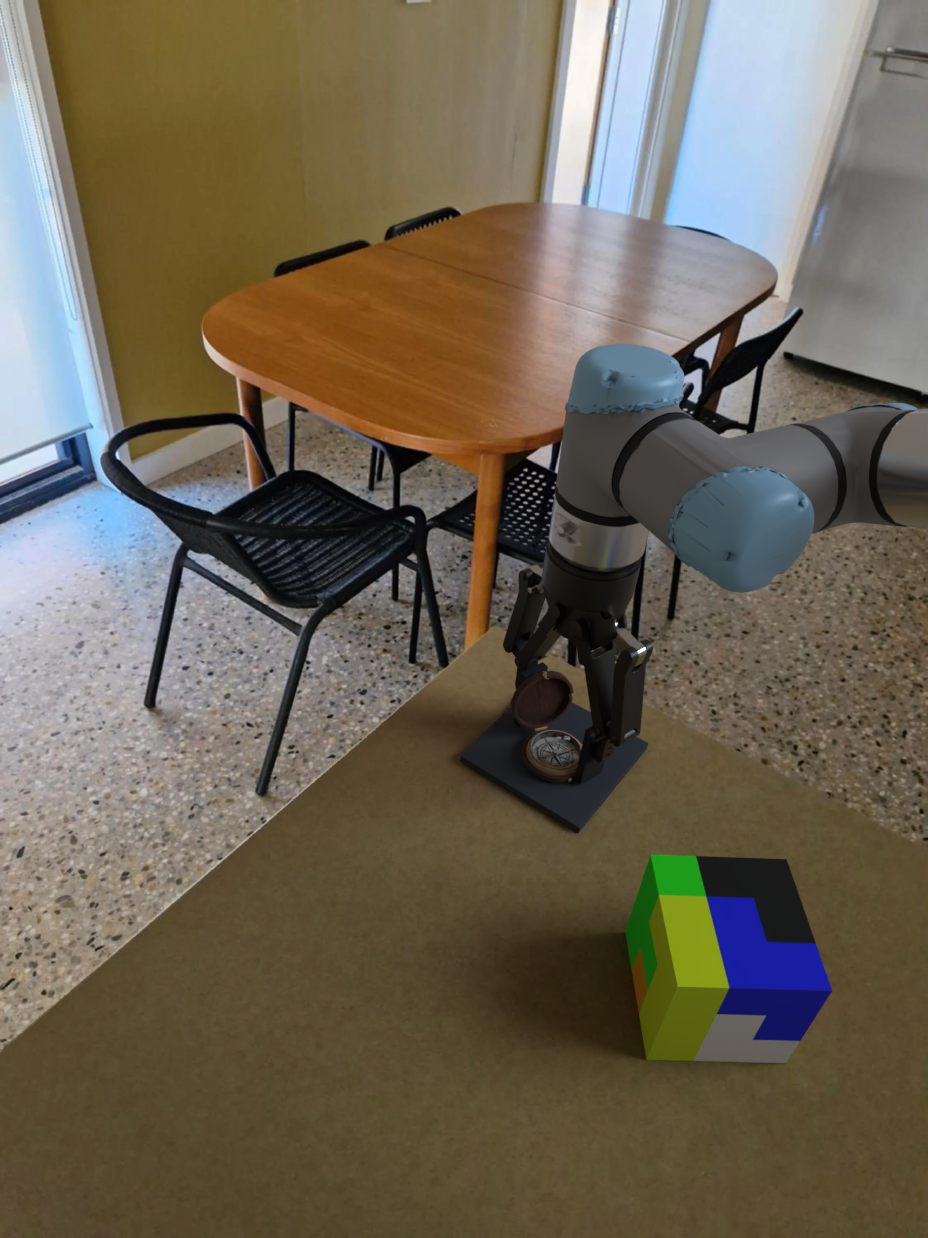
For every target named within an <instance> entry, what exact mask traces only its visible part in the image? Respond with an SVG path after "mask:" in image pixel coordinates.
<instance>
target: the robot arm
mask: <svg viewBox="0 0 928 1238" xmlns="http://www.w3.org/2000/svg"><path fill="white" fill-rule="evenodd" d="M684 382H685V373H684V371H683V368H682V367H681V366H680V363H679V361H678V360H677V359H675V357H673V356H672V355H670V354H669V353H666V352H664V351H662V350H659V349H657V348H655V347H650V346H645V345H641V344H635V343H619V342H618V343H610V344H604V345H599V346H595V347H593V348H591V349H589V350H588V351H586V352H585V353H583V355H581V357H580V358H579V359H578V361H577V363H576V365H575V368H574V373H573V377H572V381H571V386H570V391H569V395H568V399H567V402H566V403H565V404H564V411H565V415H564V423H563V432H562V437H561V438H562V439H561V446H560V452H559V453H560V454H559V460H558V466H557V467H558V468H557V475H556V481H555V489H554V490H555V492H554V495H553V503H552V510H551V516H550V524H549V529H548V530H549V532H548V540H547V543H546V545H545V552H544V559H543V561H541V562H539V563H536V564H533V565H530V566H528V567H525V568H524V569H522V570H520V571H519V572H518V592H517V596H516V600H515V603H514V606H513V609H512V612H511V616H510V619H509V621H508V626H507V629H506V632H505V635H504V639H503V641H502V642H503V643H502V648H503V650H504V651H505V653H507V654H512V655H513V656H514V665H515V666H516V673H515V681H514V686H515V687H514V688H515V690H517V688H518V687H519V685H520V684H521V683H523V682H524V681H525V680H526V679H527V678H529V677H531V676H532V675H534V674H536V673H539V672H542V671H548V669H549V666H548V665H547V664H546V663H544V662H543V661H541V660H543V659H546V658H548V655H547V654H548V652H550V650H551V649H552V647H553V646H555V644H556V643H557V641H558V640H560V638H561V637H562V638H565V639H567V640H568V641H570V643H571V644H572V645H573V646H574V647H575V648H576V654H577V660H578V664H579V665H580V666H583V668H584V676H585V682H586V689H587V694H588V703H589V709H590V710H589V711H590V712H591V717H592V723H593V726H591V727H590V728H588V729H586V730H585V735H584V739H583V744H582V748H581V753H580V758H579V762H578V767H577V771H576V776H575V781H576V782H578V783H579V784H580V785H581V784H583V783H585V782H586V781H588V780H590V779H591V778H593V777H595V776H596V775H598V774H600V773H601V772H602V769H603V765H604V761H605V760H606V759H607V758H609V757H611V756H612V755H613V752H614V748H615V746H616V747H619V746H621V745H622V744H624V743H626V742H627V741H629V740H631V739H633V738H634V737H638V736H639V735H640V734H641V729H642V717H643V704H644V691H645V682H646V681H645V678H646V670H647V669H646V668H647V663H648V662H649V659H650V657H651V655H652V654H653V651H654V645H653V643H652V642H651V641H650V640H649V639H647V638H644V639H642V640H640V641H639V640H638V639H637V638H636V637H635V636H634V635H633V634H632V633H630V631H629V630H628V621H627V616H626V615H627V614H626V611H627V608H628V606H629V604H630V603H631V601H632V599H633V597H634V595H635V592H636V587H637V583H638V579H639V574H640V570H641V565H642V557H643V555H644V554H645V551H646V548H647V547H646V546H647V542H648V538H649V533H650V534H651V535H653V536H654V537H655V538H656V539H658V540H659V541H660V542H661V543H662V544H663V545H665V547H667V548H668V549H669V550H671V552H672V553H673V554H674V555H676V557H677V559H679V561H681V562H682V563H683V564H684V565H685V566H687V567H691V569H693V570H695V572H696V571H697V572H699V573H700V574H702V575H703V576H705V577H706V578H707V579H709V580H710V581H711V582H713V583H714V584H716V585H717V586H719V587H720V588H721V589H724V590H726V591H727V592H734V593H741V594H742V593H750V592H754V591H757V590H760V589H763V588H765V587H767V586H769V585H770V584H771V582H773V580H774V579H775V577H776V576H777V575H783V574H786V572H787V571H788V570H790V569H791V567H793V565H794V564H795V563H796V562H797V561H798V559H800V557H801V555H802V554H803V552H804V551H805V549H806V547H807V545H808V544H809V541H810V538H811V536H812V535H814V534H816V533H820V532H823V531H826V530H830V529H834V528H837V527H840V526H844V525H847V524H848V525H849V524H869V525H870V524H871V525H880V526H891V527H901V528H920V529H927V530H928V408H917V407H916V406H913V405H911V404H908V403H903V402H889V403H872V404H867V405H859V406H854V407H852V408H850V409H848V410H845V411H842V412H839V413H834V414H830V415H826V416H823V417H818V418H814V419H810V420H806V421H802V422H796V423H790V424H786V425H782V426H778V427H773V428H769V429H764V430H761V431H760V430H759V431H754V432H751V433H746V434H742V435H737V436H733V437H725V436H721V435H720V434H718V432H716V431H714V430H712V429H711V428H709V427H708V426H706V425H705V424H703V423H702V422H700V421H698V420H697V419H695V418H694V417H693V416H692V415H690V414H689V413H687V412H686V411H684V410H682V409H681V408H680V404H681V401H683V398H684V396H685V395H684V393H683V392H684ZM545 601H546V603H547V606H548V608H547V610H546V612H545V614H544V616H543V617H542V618H541V619H540V616H541V614H542V610H543V607H544V605H545ZM539 619H540V621H539ZM537 626H538V627H537ZM536 627H537V628H536ZM540 661H541V662H540ZM539 662H540V663H539ZM514 723H515V724H516V725H517V726H518V727H520V726H521V724H519V723H518V721H517V720H516V719H515V717H514Z"/></svg>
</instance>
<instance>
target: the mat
mask: <svg viewBox="0 0 928 1238" xmlns="http://www.w3.org/2000/svg"><path fill="white" fill-rule="evenodd" d="M591 726H593V723H592V717H591V711H590V710H587V709H585V708H584V707H582V706H580V705H578V704H576V703H575V702H573V701H572V702H571V704H570V707H569V708H568V709H567V711H566V712H565V714H564V715H562V716H561V717H560V718H559V719H558V720H557V721H555V722H553V723H552V724H550V725H548V726H547V727H548V728H546V729H556V730H562V731H565V732H568V733H570V734H572V735H574V736H576V737H577V738H578V739H579V740H580V741H581V742H582V743H583V739H584V735H585V730H586V729H588V728H590V727H591ZM546 729H545V730H546ZM535 732H537V731H535V729H534V728H527V727H524V726H522V725H521V726H520V727H518V726H517V725H516V724H515V723H514V716H513V714H512V711H511V706H509V708H508V709H507V710H505V712H504V713H503V714H501V716H499V717H498V718H497V719H496V720H495V721H494V722H493V723H492V724H491V725H490V726H489V727H488V728H487V729H486V730H485V731H483V732H482V734H481V735H479V736H478V737H477V739H475V740H474V741H473V742H472V743H471V744H470V745H469V746H468V747H467V748H466V749H465V750H464V751H463V752H462V753H461V754H460V755H459V762H460V763H461V764H463V765H465V766H467V767H468V768H470V769H472V770H474V771H475V772H477V773H478V774H480V775H482V776H483V777H485V778H487V779H488V780H489V781H492V782H493V783H495V784H497V786H500V787H501V788H503V789H505V790H506V791H508V792H509V793H511V794H513V795H515V796H516V797H518V798H520V799H521V800H523V801H525V802H526V803H528V804H529V805H530V806H533V807H535V808H536V809H537V810H539V811H541V812H542V813H544V814H546V815H548V816H549V817H551V818H553V819H554V820H555V821H557V822H559V823H560V824H563V826H565V827H567V828H568V829H571V830H572V831H574V832H576V833H577V834H579V833H580V832H581V831H582V830H583V829H584V827H585V826H586V825H587V823H588V822H589V821H590V820H591V818H593V816H594V815H595V813H596V812H597V811H598V810H599V808H600V807H601V806H602V805H603V804H604V802H605V801H606V800H607V799H608V797H609V796H610V795H611V794H612V793H613V791H614V790H615V789H616V788H617V786H618V785H619V784H620V783H621V782H622V780H623V779H624V778H625V776H626V775H627V774H628V773H629V772H630V770H631V769H632V768H633V766H635V764H636V763H637V762H638V760H639V759H640V758H641V757H642V755H643V754H644V753H645V752H646V751H647V749H648V746H649V743H648V742H647V741H645V740H644V739H642V738H640V737H638V736H636V737H634V738H633V739H631V740H629V741H627V742H626V743H624V744H622V745H621V746H619V747H616V746H615V748H614V752H613V755H612V756H611V757H609V758H607V759H606V760H605V761H604V765H603V769H602V772H601V773H600V774H598V775H596V776H595V777H593V778H591V779H590V780H588V781H586V782H585V783H583V784H581V785H580V784H579V783H578V782H576V781H575V779H574V780H572V781H570V782H561V783H558V782H549V781H546V780H543V779H540V778H539V777H537V776H535V775H534V774H532V773H531V772H530V771H529V770H528V769H527V768H526V766H525V764H524V762H523V759H522V749H523V744H524V742H525V741H526V739H527V738H528V737H529V736H530V735H532V734H533V733H535Z"/></svg>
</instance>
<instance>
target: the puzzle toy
mask: <svg viewBox="0 0 928 1238" xmlns="http://www.w3.org/2000/svg"><path fill="white" fill-rule="evenodd" d="M801 899H802V898H801V897H800V894H799V890H798V888H797V885H796V882H795V878H794V876H793V874H792V870H791V868H790V865H789V862H788V859H787V858H764V857H763V858H762V857H735V856H734V857H733V856H705V855H680V854H679V855H678V854H677V855H675V854H650V855H649V857H648V861H647V864H646V868H645V871H644V873H643V875H642V879H641V882H640V885H639V888H638V891H637V895H636V897H635V901H634V904H633V906H632V910H631V913H630V916H629V918H628V921H627V925H626V928H625V931H624V933H625V938H626V945H627V950H628V957H629V963H630V968H631V974H632V981H633V986H634V992H635V993H634V994H635V1000H636V1004H637V1011H638V1017H639V1023H640V1029H641V1035H642V1041H643V1047H644V1054H645V1060H646V1061H670V1062H671V1061H673V1062H710V1063H711V1062H712V1063H713V1062H715V1063H751V1064H753V1063H754V1064H758V1063H759V1064H787V1062H788V1061H789V1059H790V1058H791V1056H792V1055H793V1053H794V1052H795V1050H796V1049H797V1047H798V1046H799V1044H800V1042H801V1041H802V1039H803V1038H804V1036H805V1035H806V1032H807V1031H808V1030H809V1028H810V1027H811V1025H812V1024H813V1022H814V1021H815V1019H816V1018H817V1016H818V1014H819V1012H820V1011H821V1009H822V1008H823V1007H824V1005H825V1003H826V1002H827V1000H828V999H829V997H830V995H831V994H832V993H833V989H832V986H831V983H830V979H829V977H828V974H827V971H826V968H825V966H824V962H823V960H822V957H821V954H820V951H819V948H818V946H817V943H816V939H815V937H814V934H813V931H812V928H811V925H810V923H809V920H808V917H807V914H806V911H805V907H804V906H803V902H802V900H801Z"/></svg>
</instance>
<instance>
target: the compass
mask: <svg viewBox="0 0 928 1238" xmlns="http://www.w3.org/2000/svg"><path fill="white" fill-rule="evenodd" d="M573 694H574V688H573V684H572V683H571V682H570V679H568V678H567V676H566V675H564V674H563V673H561V672H560V671H557V670H547V671H542V672H539V673H536V674H534V675H532V676H531V677H529V678H527V679H526V680H525V681H524V682H523V683H521V684H520V685H519V687H518V688H517V689H515V691H514V692H513V695H512V698H511V700H510V707H511V711H512V714H513V716H514V717H515V719H516V720H517V721H518V723H519V724H521V725H522V726H524V727H527V728H534V729H535V731H537V732H535V733H533V734H532V735H530V736H529V737H528V738H527V739H526V741H525V742H524V744H523V749H522V759H523V762H524V764H525V766H526V768H527V769H528V770H529V771H530V772H531V773H532V774H534V775H535V776H537V777H539V778H540V779H543V780H546V781H549V782H558V783H561V782H570V781H572V780H574V779H575V776H576V771H577V767H578V762H579V758H580V753H581V748H582V744H583V743H582V742H581V741H580V740H579V739H578V738H577V737H576V736H574V735H572V734H570V733H568V732H565V731H562V730H556V729H546V728H548V727H547V726H548V725H550V724H552V723H553V722H555V721H557V720H558V719H559V718H560V717H561V716H562V715H564V714H565V712H566V711H567V709H568V708H569V707H570V704H571V702H573V700H574V697H573ZM545 729H546V730H545Z"/></svg>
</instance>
